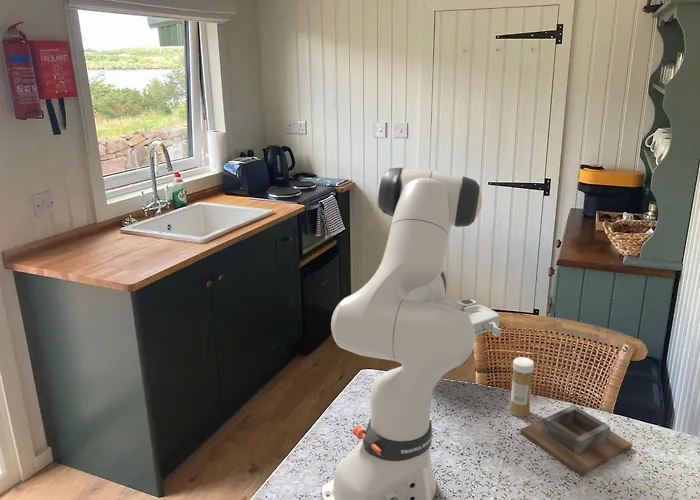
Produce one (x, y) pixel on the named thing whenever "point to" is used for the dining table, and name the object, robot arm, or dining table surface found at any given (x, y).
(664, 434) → the dining table surface
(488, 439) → the dining table surface
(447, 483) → the dining table surface
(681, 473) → the dining table surface
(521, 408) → the sprinkles bottle
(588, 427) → the socket base
